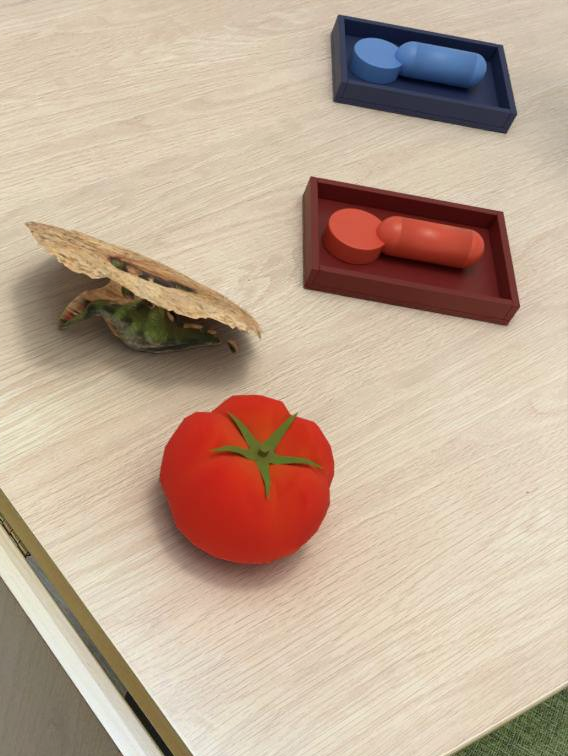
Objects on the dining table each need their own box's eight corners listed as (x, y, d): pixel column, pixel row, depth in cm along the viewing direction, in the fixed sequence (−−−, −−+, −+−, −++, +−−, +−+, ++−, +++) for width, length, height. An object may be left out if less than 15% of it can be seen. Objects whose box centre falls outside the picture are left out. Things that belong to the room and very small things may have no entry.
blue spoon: (474, 73, 95) (489, 43, 93) (479, 103, 93) (495, 73, 90) (347, 49, 95) (359, 19, 93) (348, 78, 92) (361, 48, 90)
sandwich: (175, 326, 82) (225, 245, 78) (229, 432, 72) (291, 347, 68) (-23, 256, 75) (21, 162, 71) (7, 363, 65) (60, 262, 60)
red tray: (491, 230, 84) (503, 211, 82) (507, 325, 77) (520, 306, 76) (302, 195, 83) (310, 175, 82) (303, 288, 77) (312, 268, 76)
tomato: (181, 596, 61) (213, 530, 55) (131, 454, 67) (155, 380, 60) (338, 570, 63) (386, 504, 57) (277, 436, 69) (314, 362, 63)
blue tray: (492, 64, 97) (503, 44, 96) (506, 133, 91) (517, 114, 90) (330, 33, 97) (338, 13, 95) (333, 101, 91) (341, 81, 89)
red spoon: (470, 246, 81) (488, 217, 79) (476, 287, 79) (495, 258, 76) (321, 219, 81) (334, 188, 79) (322, 259, 79) (336, 228, 76)
